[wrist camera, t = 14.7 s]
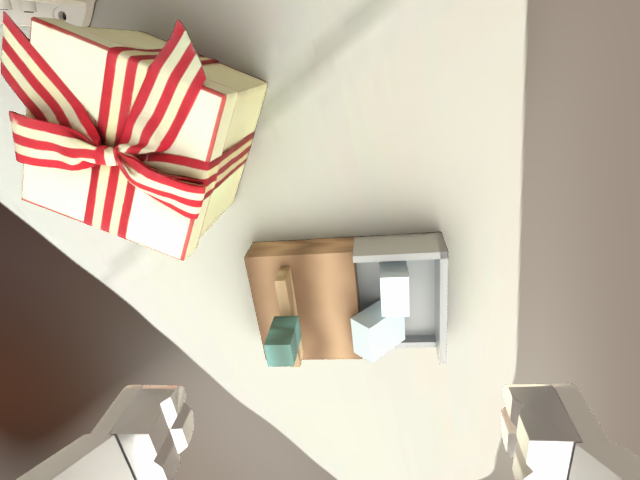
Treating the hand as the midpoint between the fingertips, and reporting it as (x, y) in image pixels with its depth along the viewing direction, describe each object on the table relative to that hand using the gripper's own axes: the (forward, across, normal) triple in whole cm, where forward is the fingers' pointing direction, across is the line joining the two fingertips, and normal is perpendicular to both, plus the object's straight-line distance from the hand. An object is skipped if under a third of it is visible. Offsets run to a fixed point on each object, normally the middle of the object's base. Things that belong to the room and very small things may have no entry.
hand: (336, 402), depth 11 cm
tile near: (+34, -1, +17) cm, 37 cm away
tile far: (+34, +1, +23) cm, 41 cm away
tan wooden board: (+37, +8, +20) cm, 43 cm away
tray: (+37, -3, +20) cm, 42 cm away
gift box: (+37, +19, -4) cm, 42 cm away
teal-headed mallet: (+33, +10, +20) cm, 40 cm away
